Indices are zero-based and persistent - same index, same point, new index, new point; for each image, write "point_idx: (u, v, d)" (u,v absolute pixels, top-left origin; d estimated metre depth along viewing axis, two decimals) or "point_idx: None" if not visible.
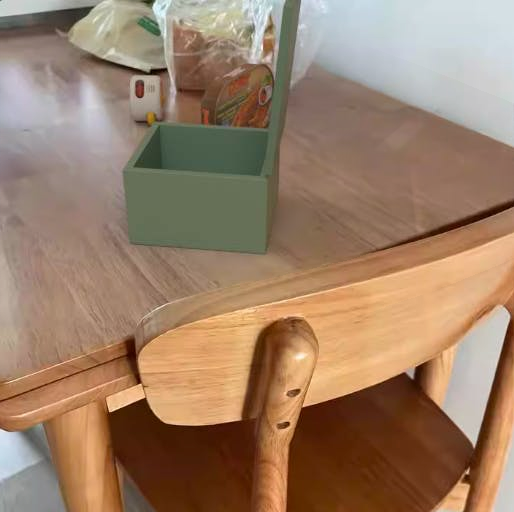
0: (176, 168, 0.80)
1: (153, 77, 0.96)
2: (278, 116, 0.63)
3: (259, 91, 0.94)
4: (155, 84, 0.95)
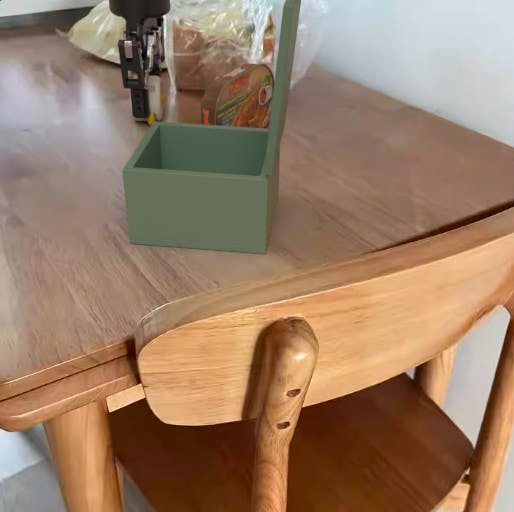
0: (176, 168, 0.80)
1: (153, 77, 0.96)
2: (278, 116, 0.63)
3: (259, 91, 0.94)
4: (155, 84, 0.95)
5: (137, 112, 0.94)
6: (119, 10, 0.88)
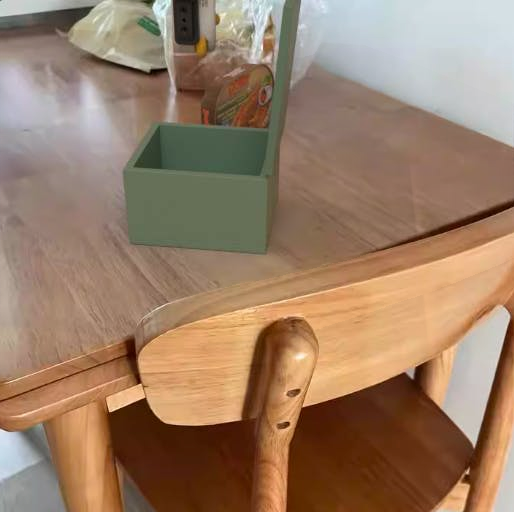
0: (176, 168, 0.80)
1: None
2: (278, 116, 0.63)
3: (259, 91, 0.94)
4: None
5: (182, 35, 0.65)
6: None
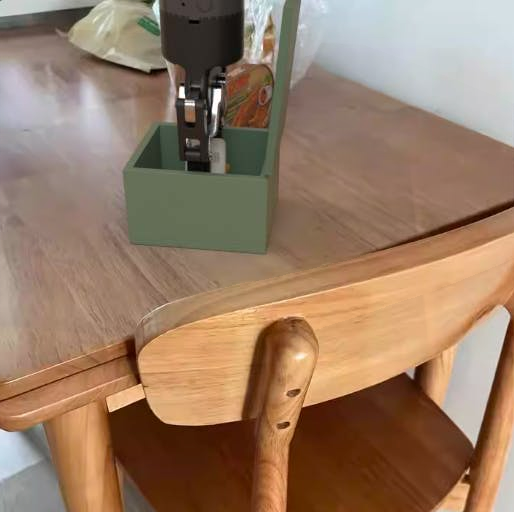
0: (176, 168, 0.80)
1: (216, 141, 0.72)
2: (278, 116, 0.63)
3: (259, 91, 0.94)
4: (219, 151, 0.71)
5: None
6: (177, 57, 0.64)
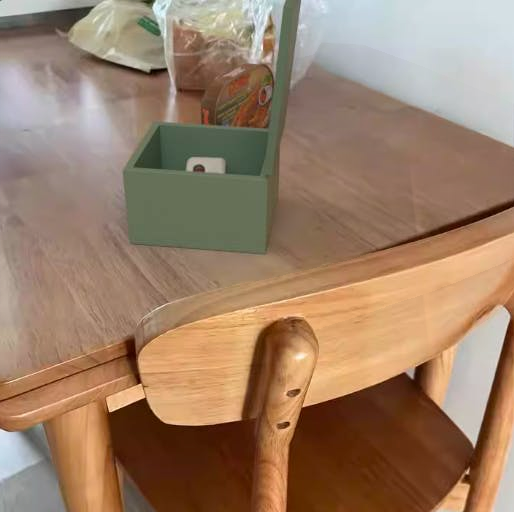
0: (176, 168, 0.80)
1: (216, 161, 0.73)
2: (278, 116, 0.63)
3: (259, 91, 0.94)
4: (218, 171, 0.72)
5: None
6: None
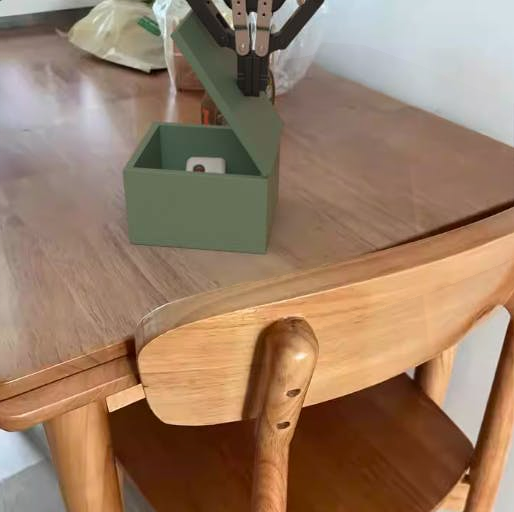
0: (176, 168, 0.80)
1: (216, 161, 0.73)
2: (236, 122, 0.64)
3: None
4: (218, 171, 0.72)
5: None
6: None
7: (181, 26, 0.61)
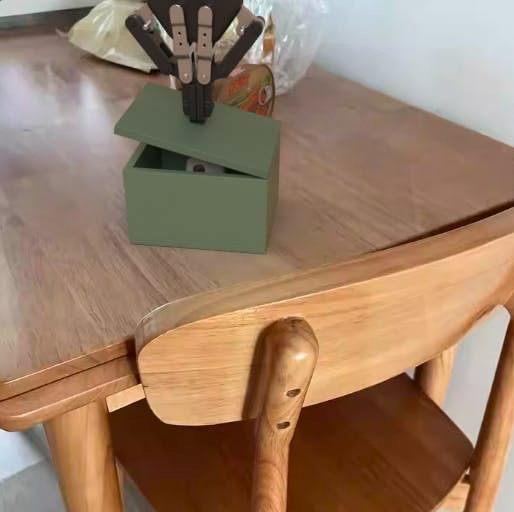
0: (176, 168, 0.80)
1: None
2: (209, 154, 0.66)
3: (259, 91, 0.94)
4: (218, 171, 0.72)
5: None
6: None
7: (119, 119, 0.67)
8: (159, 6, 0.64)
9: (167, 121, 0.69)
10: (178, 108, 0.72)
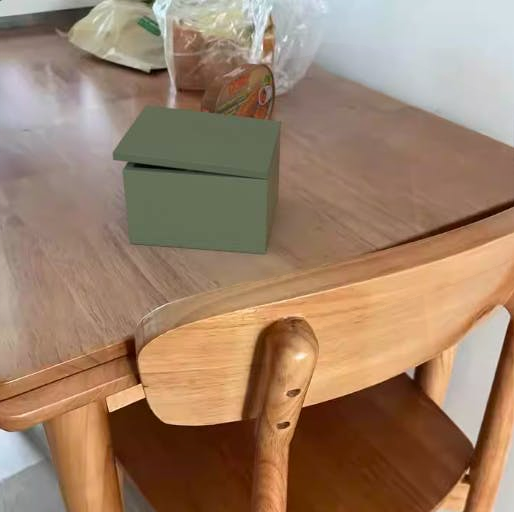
0: (176, 168, 0.80)
1: None
2: (207, 164, 0.67)
3: (259, 91, 0.94)
4: None
5: None
6: None
7: (117, 145, 0.68)
8: None
9: (165, 139, 0.70)
10: (176, 125, 0.73)
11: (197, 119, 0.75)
